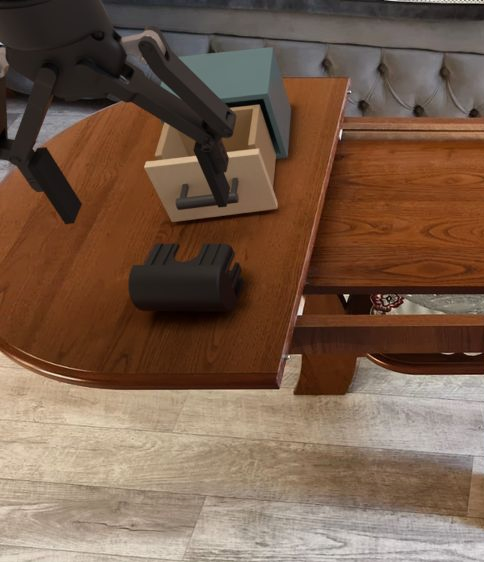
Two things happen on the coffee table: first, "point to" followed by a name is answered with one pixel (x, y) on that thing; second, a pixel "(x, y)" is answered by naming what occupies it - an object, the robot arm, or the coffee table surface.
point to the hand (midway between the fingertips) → (149, 206)
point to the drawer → (240, 172)
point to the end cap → (186, 280)
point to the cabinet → (247, 86)
